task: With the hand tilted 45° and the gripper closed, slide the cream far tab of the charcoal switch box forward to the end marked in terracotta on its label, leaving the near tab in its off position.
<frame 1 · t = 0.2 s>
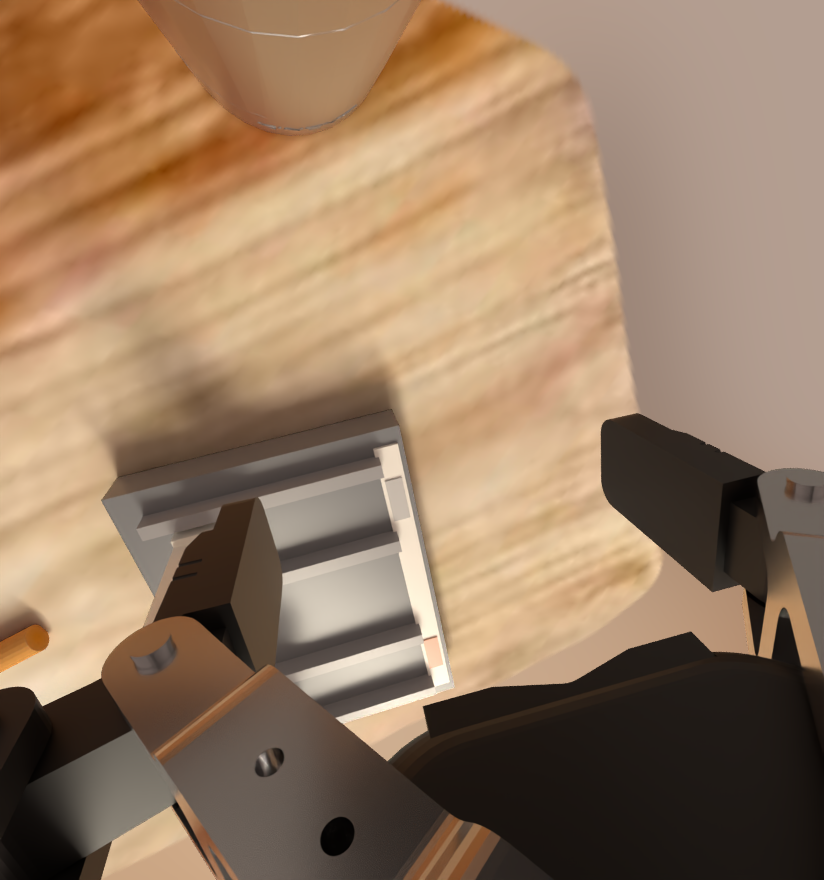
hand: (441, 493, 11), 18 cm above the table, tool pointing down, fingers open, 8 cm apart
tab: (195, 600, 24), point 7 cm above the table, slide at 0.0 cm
switch box: (309, 584, 33), on the table
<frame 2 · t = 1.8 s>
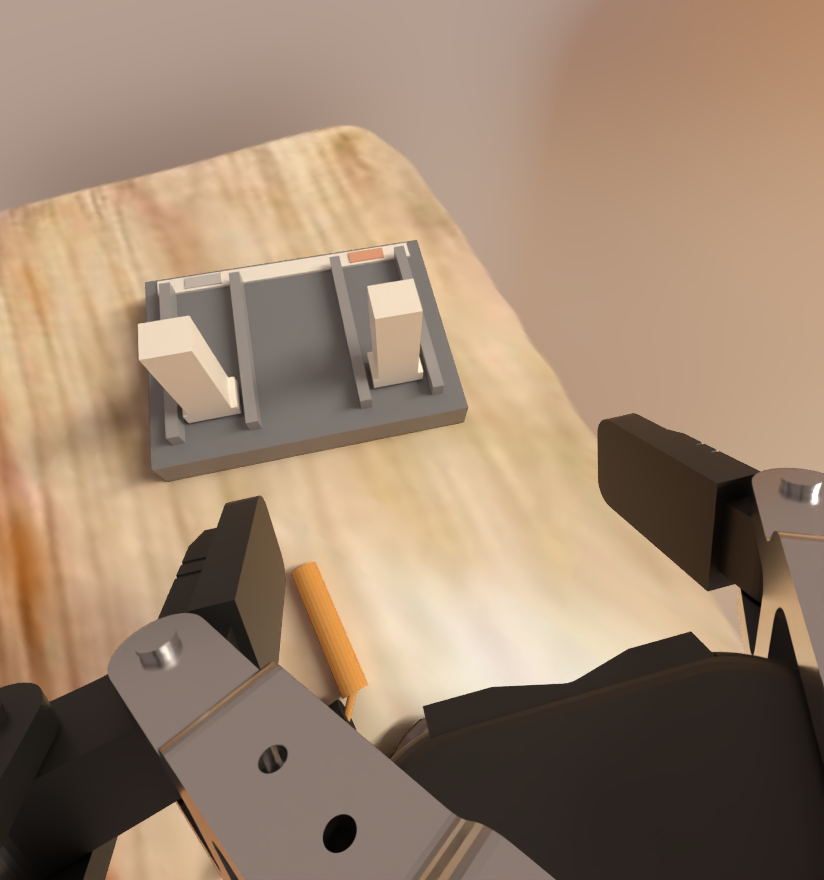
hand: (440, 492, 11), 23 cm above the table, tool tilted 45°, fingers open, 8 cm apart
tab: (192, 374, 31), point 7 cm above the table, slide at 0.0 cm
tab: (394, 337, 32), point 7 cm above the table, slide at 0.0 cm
switch box: (304, 359, 39), on the table
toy: (372, 832, 28), on the table
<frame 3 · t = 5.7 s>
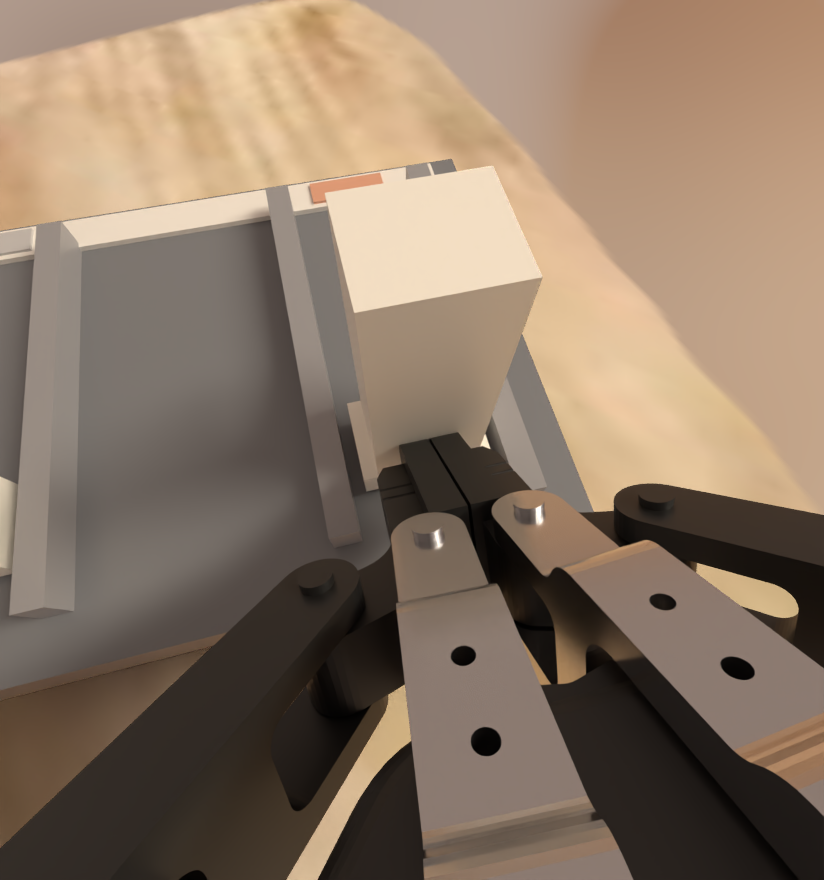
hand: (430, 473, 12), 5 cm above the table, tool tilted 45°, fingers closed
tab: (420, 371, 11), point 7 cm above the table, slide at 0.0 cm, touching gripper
switch box: (218, 412, 18), on the table
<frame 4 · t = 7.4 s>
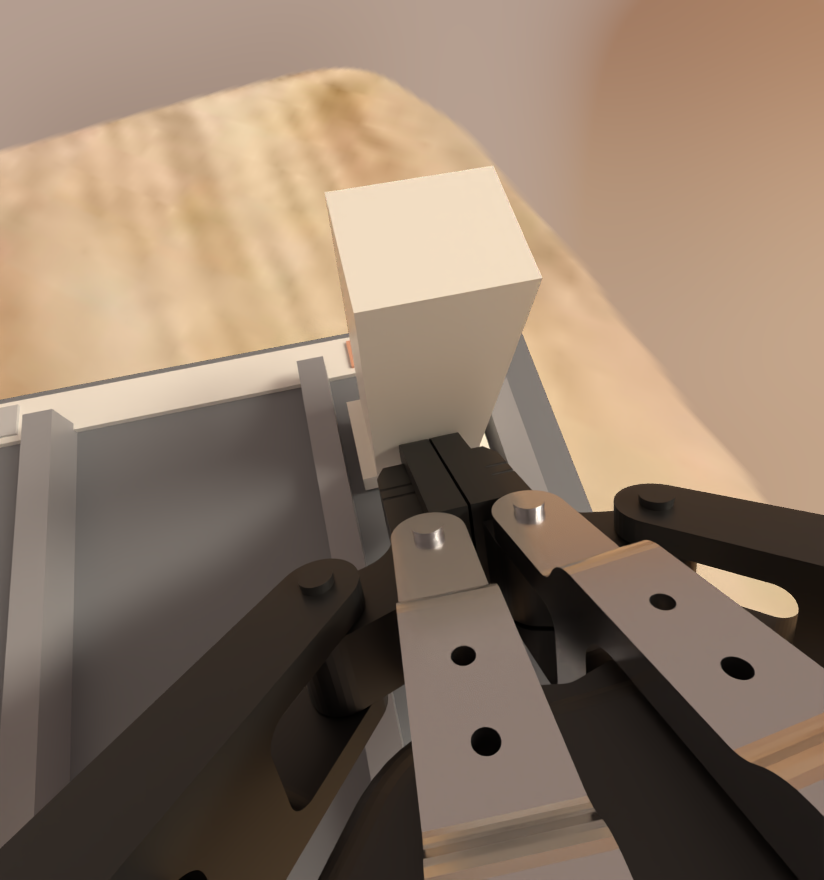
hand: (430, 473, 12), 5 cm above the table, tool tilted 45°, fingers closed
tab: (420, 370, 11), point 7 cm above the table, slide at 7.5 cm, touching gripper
switch box: (239, 620, 15), on the table
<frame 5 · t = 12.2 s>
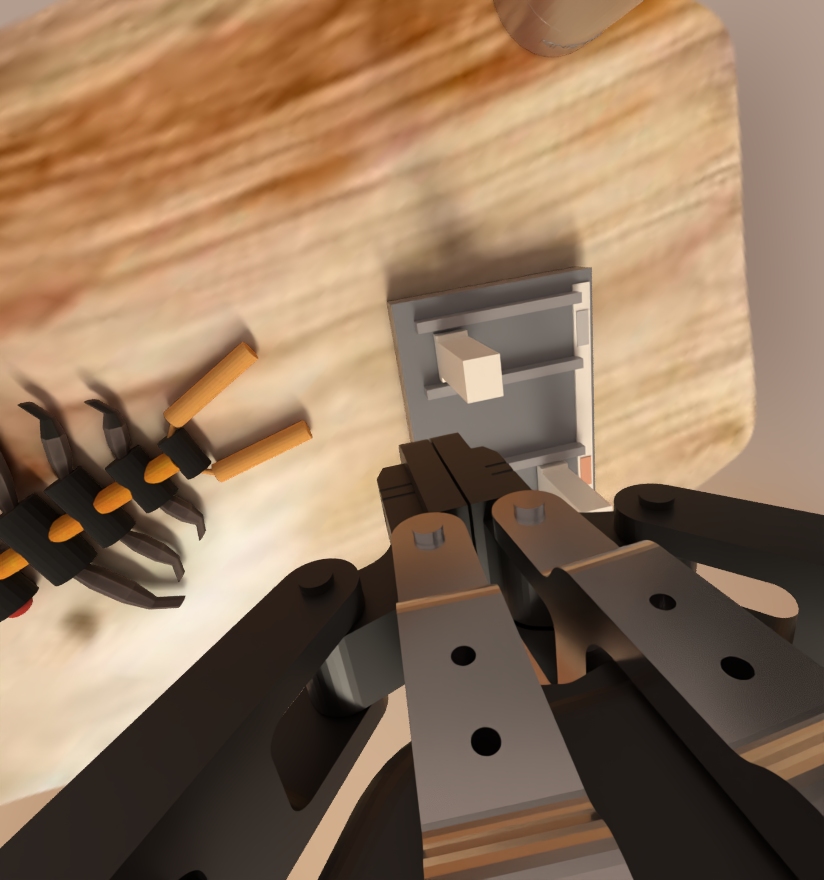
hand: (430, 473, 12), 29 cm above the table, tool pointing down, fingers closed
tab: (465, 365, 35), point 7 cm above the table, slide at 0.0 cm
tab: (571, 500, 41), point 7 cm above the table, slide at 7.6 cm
switch box: (495, 411, 44), on the table
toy: (128, 479, 41), on the table
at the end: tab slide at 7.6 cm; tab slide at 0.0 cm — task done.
